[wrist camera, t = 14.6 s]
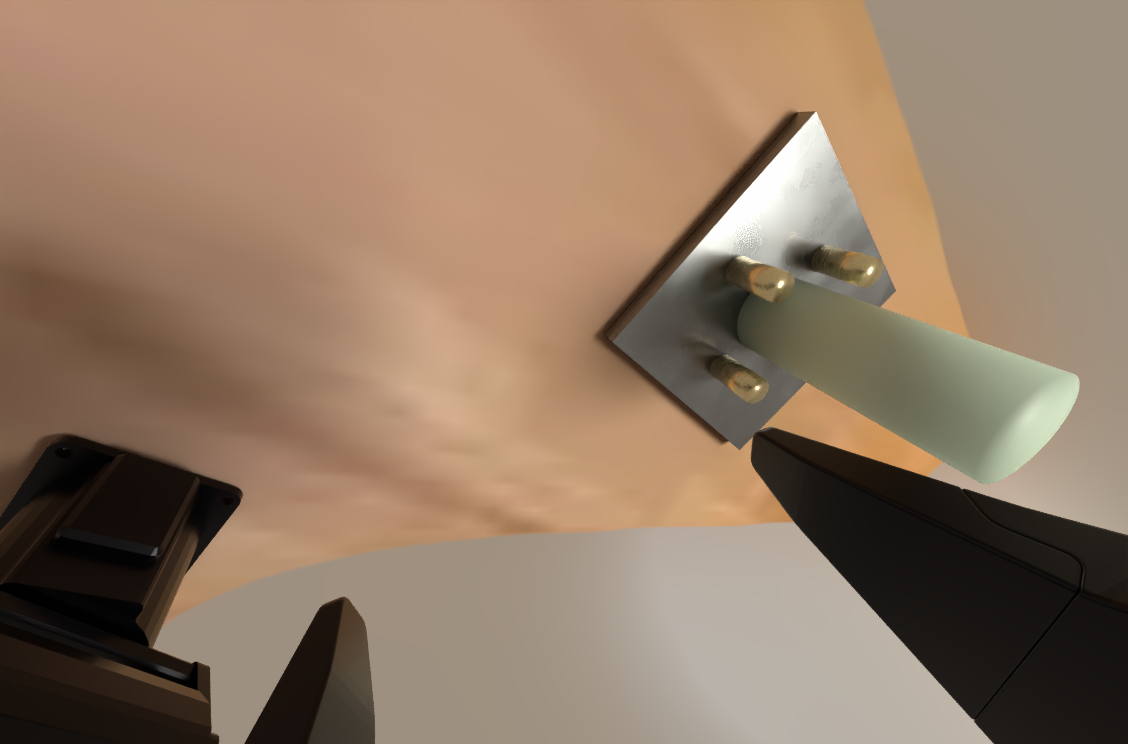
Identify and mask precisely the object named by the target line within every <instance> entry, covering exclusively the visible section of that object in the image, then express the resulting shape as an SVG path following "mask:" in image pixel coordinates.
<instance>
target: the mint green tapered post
mask: <svg viewBox="0 0 1128 744" xmlns="http://www.w3.org/2000/svg"><path fill="white" fill-rule="evenodd" d="M794 279H795V283H794V288H793V290H792V292H791V294H790V295H789V296H788V297H787V298H786V299H785V300H784V301H782V302H780V303H772V302H770V301H768V300H766V299H763V298H761V297H759V296H757V295H754V294H752V293H750V295H749V296H748V297H747V299H746V300H745V302H744V304H743V306H742V308H741V310H740V313H739V316H738V321H737V333H738V337H739V340H740V341H741V343H742V344H743V345H744V346H745V347H746V348H748V349H750V350H752V351H753V352H755V353H757V354H758V355H760V356H762V357H764V358H765V359H767V360H769V361H771V362H772V363H774V364H776V365H777V366H779V367H781V368H783V369H784V370H786V371H788V372H790V373H791V374H793V375H795V376H796V377H798V378H800V379H802V380H803V381H805V382H807V383H809V384H810V385H812V386H814V387H815V388H817V389H819V390H821V391H822V392H824V393H826V394H828V395H829V396H831V397H833V398H834V399H836V400H838V401H840V402H841V403H843V404H845V405H846V406H848V407H850V408H852V409H853V410H855V411H857V412H859V413H860V414H862V415H864V416H865V417H867V418H869V419H871V420H872V421H874V422H876V423H878V424H879V425H881V426H883V427H884V428H886V429H888V430H890V431H891V432H893V433H895V434H897V435H898V436H900V437H902V438H903V439H905V440H907V441H909V442H910V443H912V444H914V445H916V446H917V447H919V448H921V449H922V450H924V451H926V452H928V453H929V454H931V455H933V456H935V457H936V458H938V459H940V460H941V461H943V462H945V463H947V464H948V465H950V466H952V467H953V468H955V469H957V470H959V471H960V472H962V473H964V474H966V475H967V476H969V477H971V478H973V479H974V480H976V481H978V482H979V483H982V484H990V483H994V482H997V481H999V480H1001V479H1003V478H1005V477H1007V476H1009V475H1010V474H1012V473H1013V472H1015V471H1016V470H1018V469H1019V468H1020V467H1022V466H1023V465H1024V464H1025V463H1026V462H1028V461H1029V460H1030V459H1031V458H1032V457H1033V456H1034V455H1035V454H1036V453H1037V452H1038V451H1039V450H1040V449H1041V448H1042V447H1043V446H1044V445H1045V444H1046V443H1047V442H1048V441H1049V440H1050V439H1051V437H1052V436H1053V435H1054V434H1055V432H1056V431H1057V430H1058V429H1059V427H1060V426H1061V424H1062V423H1063V422H1064V420H1065V419H1066V417H1067V415H1068V414H1069V412H1070V410H1071V409H1072V407H1073V404H1074V402H1075V400H1076V397H1077V395H1078V391H1079V379H1078V377H1077V376H1076V375H1074V374H1072V373H1069V372H1066V371H1063V370H1060V369H1057V368H1054V367H1051V366H1048V365H1046V364H1043V363H1040V362H1037V361H1034V360H1031V359H1028V358H1025V357H1023V356H1020V355H1017V354H1014V353H1011V352H1008V351H1005V350H1002V349H999V348H996V347H994V346H990V345H988V344H985V343H982V342H979V341H976V340H973V339H970V338H968V337H965V336H962V335H959V334H956V333H953V332H950V331H947V330H944V329H941V328H939V327H936V326H933V325H930V324H927V323H924V322H921V321H918V320H915V319H913V318H910V317H907V316H904V315H901V314H898V313H895V312H892V311H889V310H886V309H884V308H881V307H878V306H875V305H872V304H869V303H866V302H863V301H860V300H858V299H855V298H852V297H849V296H846V295H843V294H840V293H837V292H834V291H831V290H829V289H826V288H823V287H820V286H817V285H814V284H811V283H808V282H805V281H803V280H800V279H797V278H794Z"/></svg>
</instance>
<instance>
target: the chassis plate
mask: <svg viewBox="0 0 1128 744" xmlns="http://www.w3.org/2000/svg"><path fill="white" fill-rule="evenodd" d="M794 278H797V279H800V280H803V281H805V282H808V283H811V284H814V285H817V286H820V287H823V288H826V289H829V290H831V291H834V292H837V293H840V294H843V295H846V296H849V297H852V298H855V299H858V300H860V301H863V302H866V303H869V304H872V305H875V306H878V307H881V306H882V305H883V304H884V303H885V302H886V300H887V299H888V298H889V297H890V296H891V295H892V294H893V293H894V292H895V291H896V290H895V288H894V285H893V283H892V281H891V279H890V276H889V274H888V272H887V270H886V267H885V265H884V263H883V261H882V258H881V256H880V254H879V252H878V249H877V247H876V245H875V243H874V240H873V238H872V236H871V234H870V231H869V229H868V227H867V225H866V223H865V220H864V218H863V216H862V214H861V211H860V209H859V207H858V205H857V202H856V200H855V198H854V196H853V193H852V191H851V189H850V187H849V184H848V182H847V180H846V178H845V175H844V173H843V171H842V169H841V166H840V164H839V162H838V160H837V157H836V155H835V153H834V151H833V148H832V146H831V144H830V142H829V139H828V137H827V135H826V133H825V130H824V128H823V126H822V124H821V121H820V119H819V117H818V115H817V113H816V111H814V112H799V113H798V114H797V115H796V116H795V117H794V118H793V119H792V121H791V122H790V123H789V124H788V125H787V126H786V127H785V129H784V130H783V131H782V132H781V133H780V134H779V135H778V137H777V138H776V139H775V140H774V141H773V142H772V143H771V145H770V146H769V147H768V148H767V149H766V150H765V151H764V153H763V154H762V155H761V156H760V157H759V158H758V159H757V161H756V162H755V163H754V164H753V165H752V166H751V167H750V169H749V170H748V171H747V172H746V173H745V174H744V175H743V177H742V178H741V179H740V180H739V181H738V182H737V183H736V185H735V186H734V187H733V188H732V189H731V190H730V191H729V193H728V194H727V195H726V196H725V197H724V198H723V199H722V201H721V202H720V203H719V204H718V205H717V206H716V207H715V209H714V210H713V211H712V212H711V213H710V214H709V215H708V216H707V218H706V219H705V220H704V221H703V222H702V223H701V224H700V226H699V227H698V228H697V229H696V230H695V231H694V232H693V234H692V235H691V236H690V237H689V238H688V239H687V240H686V242H685V243H684V244H683V245H682V246H681V247H680V248H679V250H678V251H677V252H676V253H675V254H674V255H673V256H672V258H671V259H670V260H669V261H668V262H667V263H666V264H665V266H664V267H663V268H662V269H661V270H660V271H659V272H658V274H657V275H656V276H655V277H654V278H653V279H652V280H651V282H650V283H649V284H648V285H647V286H646V287H645V288H644V290H643V291H642V292H641V293H640V294H639V295H638V296H637V298H636V299H635V300H634V301H633V302H632V303H631V304H630V306H629V307H628V308H627V309H626V310H625V311H624V312H623V314H622V315H621V316H620V317H619V318H618V319H617V320H616V322H615V323H614V324H613V325H612V326H611V327H610V328H609V330H608V331H607V332H606V333H605V334H604V335H605V336H606V337H607V338H608V339H609V340H611V341H612V342H613V343H614V344H615V345H616V346H617V347H619V348H620V349H621V350H622V351H623V352H624V353H626V354H627V355H628V356H629V357H630V358H632V359H633V360H634V361H635V362H636V363H637V364H639V365H640V366H641V367H642V368H643V369H645V370H646V371H647V372H648V373H649V374H650V375H652V376H653V377H654V378H655V379H656V380H658V381H659V382H660V383H661V384H662V385H663V386H665V387H666V388H667V389H668V390H669V391H671V392H672V393H673V394H674V395H675V396H676V397H678V398H679V399H680V400H681V401H682V402H683V403H685V404H686V405H687V406H688V407H689V408H691V409H692V410H693V411H694V412H695V413H696V414H698V415H699V416H700V417H701V418H702V419H704V420H705V421H706V422H707V423H708V424H709V425H711V426H712V427H713V428H714V429H715V430H717V431H718V432H719V433H720V434H721V435H722V436H724V437H725V438H726V439H727V440H728V441H730V442H731V443H732V444H733V445H734V446H735V447H737V448H738V449H739V450H740V449H741V448H742V447H743V446H744V445H745V444H746V443H747V442H748V441H749V440H750V439H751V438H752V437H753V435H754V434H755V433H756V432H757V431H759V430H760V429H761V428H762V427H763V426H764V425H765V424H766V423H767V422H768V421H769V420H770V419H771V418H772V417H773V416H774V414H775V413H776V412H777V411H778V410H779V409H780V408H781V407H782V406H783V405H784V404H785V403H786V402H787V401H788V400H789V399H790V398H791V397H792V396H793V395H794V394H795V393H796V392H797V391H798V390H799V389H800V388H801V387H802V386H803V385H804V384H805V383H806V382H805V381H803V380H802V379H800V378H798V377H796V376H795V375H793V374H791V373H790V372H788V371H786V370H784V369H783V368H781V367H779V366H777V365H776V364H774V363H772V362H771V361H769V360H767V359H765V358H764V357H762V356H760V355H758V354H757V353H755V352H753V351H752V350H750V349H748V348H746V347H745V346H744V345H743V344H742V343H741V341H740V340H739V337H738V333H737V321H738V316H739V313H740V310H741V308H742V306H743V304H744V302H745V300H746V299H747V297H748V296H749V295H750V293H752V294H754V295H757V296H759V297H761V298H763V299H766V300H768V301H770V302H772V303H780V302H782V301H784V300H785V299H786V298H787V297H788V296H789V295H790V294H791V292H792V290H793V288H794V283H795V279H794Z"/></svg>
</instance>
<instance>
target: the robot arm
mask: <svg viewBox="0 0 1128 744" xmlns="http://www.w3.org/2000/svg"><path fill="white" fill-rule="evenodd" d="M62 448H68V449H70V450H72V451H73V452H67V451H65V450H63V449H62ZM751 463H752V465H753V467H754V469H755V470H756V472H757V473H758V474H759V476H760V477H761V478H762V480H763V481H764V483H765V484H766V485H767V487H768V488H769V489H770V491H771V492H772V493H773V495H774V496H775V497H776V499H777V500H778V501H779V503H780V504H781V505H782V507H783V508H784V509H785V511H786V512H787V513H788V515H789V516H790V517H791V519H792V520H793V521H794V522H795V524H796V525H797V526H798V527H799V528H800V529H801V531H802V532H803V533H804V534H805V535H806V536H807V537H808V538H809V539H810V541H811V542H812V543H813V544H814V545H815V546H816V547H817V548H818V549H819V551H820V552H821V553H822V554H823V555H824V556H825V557H826V558H827V559H828V560H829V562H830V563H831V564H832V565H833V566H834V567H835V568H836V569H837V570H838V572H839V573H840V574H841V575H842V576H843V577H844V578H845V579H846V580H847V581H848V582H849V584H850V585H851V586H852V587H853V588H854V589H855V590H856V591H857V592H858V594H859V595H860V596H861V597H862V598H863V599H864V600H865V601H866V602H867V604H868V605H869V606H870V607H871V608H872V609H873V610H874V611H875V612H876V613H877V614H878V616H879V617H880V618H881V619H882V620H883V621H884V622H885V623H886V625H887V626H888V627H889V628H890V629H891V630H892V631H893V632H894V633H895V634H896V636H898V638H899V639H900V640H901V641H902V642H903V643H904V644H905V646H906V647H907V648H908V649H909V650H910V651H911V652H912V653H913V654H914V656H916V658H917V659H918V660H919V661H920V662H921V663H922V664H923V666H924V667H925V668H926V669H927V670H928V671H929V672H930V673H931V674H932V675H933V676H934V678H935V679H936V680H937V681H938V682H939V683H940V684H941V685H942V686H943V688H945V690H946V691H947V692H948V693H949V694H950V695H951V696H952V698H953V699H954V700H955V701H956V702H957V703H958V704H959V705H960V706H961V707H962V709H963V710H964V711H965V712H966V713H967V714H968V715H969V716H970V717H971V718H972V719H974V722H975V723H976V724H977V726H978V727H979V728H980V729H981V730H982V731H983V732H984V733H985V734H986V736H987V737H988V738H989V739H990V740H991V741H992V742H993V743H994V744H1128V535H1125V534H1122V533H1118V532H1114V531H1110V530H1107V529H1103V528H1099V527H1095V526H1091V525H1088V524H1084V523H1080V522H1076V521H1073V520H1069V519H1065V518H1061V517H1058V516H1054V515H1050V514H1047V513H1043V512H1040V511H1036V510H1032V509H1029V508H1025V507H1022V506H1019V505H1015V504H1012V503H1009V502H1006V501H1002V500H999V499H996V498H992V497H989V496H986V495H983V494H980V493H977V492H974V491H971V490H967V489H961V488H960V487H958V486H954V485H951V484H948V483H945V482H942V481H939V480H936V479H932V478H930V477H927V476H923V475H920V474H917V473H914V472H911V471H908V470H905V469H902V468H898V467H895V466H892V465H889V464H886V463H883V462H880V461H877V460H874V459H870V458H867V457H864V456H861V455H858V454H855V453H852V452H849V451H846V450H842V449H839V448H836V447H833V446H830V445H827V444H824V443H821V442H817V441H814V440H811V439H808V438H805V437H802V436H799V435H796V434H793V433H789V432H786V431H783V430H780V429H777V428H773V427H768V428H765V429H763V430H760V431H757V432H756V433H755V434H754V435H753V440H752V450H751ZM224 497H231V498H233V499H226V498H224ZM242 497H243V493H242V491H241V490H240V489H239V488H237V487H234V486H231V485H228V484H224V483H221V482H218V481H215V480H212V479H208V478H205V477H202V476H199V475H196V474H193V473H189V472H186V471H183V470H180V469H177V468H173V467H170V466H167V465H164V464H161V463H157V462H154V461H151V460H148V459H145V458H141V457H138V456H135V455H132V454H129V453H126V452H122V451H119V450H116V449H113V448H110V447H106V446H103V445H100V444H97V443H94V442H90V441H87V440H84V439H81V438H78V437H73V436H63V437H60V438H57V439H56V440H55V441H54V442H53V443H52V444H51V445H50V446H48V447H47V449H46V450H45V452H44V453H43V455H42V456H41V458H40V459H39V461H38V462H37V463H36V465H35V466H34V468H33V469H32V471H31V472H30V474H29V475H28V477H27V478H26V480H25V481H24V483H23V484H22V486H21V487H20V489H19V490H18V492H17V493H16V495H15V496H14V498H13V499H12V501H11V502H10V504H9V505H8V507H7V508H6V510H5V511H4V513H3V514H2V516H1V517H0V744H219V736H218V735H217V734H214V733H211V728H212V727H211V701H210V667H209V666H206V665H204V664H201V663H199V662H194V663H189V662H187V661H184V660H181V659H179V658H176V657H173V656H171V655H168V654H166V653H163V652H161V651H158V650H156V649H153V646H154V644H155V641H156V639H157V637H158V634H159V632H160V630H161V628H162V625H163V623H164V621H165V618H166V616H167V614H168V612H169V609H170V607H171V605H172V602H173V600H174V598H175V596H176V593H177V591H178V589H179V586H180V584H181V582H182V580H183V577H184V575H185V574H186V573H187V571H188V570H189V569H190V568H191V566H192V565H193V564H194V562H195V561H196V560H197V558H198V557H199V556H200V555H201V553H202V552H203V551H204V549H205V548H206V547H207V546H208V544H209V543H210V542H211V540H212V539H213V538H214V537H215V535H216V534H217V533H218V531H219V530H220V529H221V528H222V526H223V525H224V524H225V522H226V521H227V520H228V519H229V517H230V516H231V515H232V513H233V512H234V511H235V510H236V508H237V507H238V506H239V504H240V502H241V499H242ZM245 744H375V715H374V702H373V692H372V681H371V671H370V661H369V652H368V641H367V631H366V626H365V623H364V620H363V619H362V617H361V616H360V614H359V613H358V611H357V610H356V609H355V607H354V606H353V605H352V603H351V602H350V600H349V599H348V598H346V597H340V598H338V599H335V600H333V601H330V602H328V603H325V604H324V605H322V606H321V607H320V608H319V610H318V612H317V613H316V615H315V617H314V619H313V621H312V622H311V624H310V626H309V628H308V630H307V631H306V633H305V635H304V637H303V639H302V641H301V642H300V644H299V646H298V648H297V649H296V651H295V653H294V655H293V657H292V659H291V660H290V662H289V664H288V666H287V668H286V670H285V671H284V673H283V675H282V677H281V679H280V680H279V682H278V684H277V686H276V687H275V689H274V691H273V693H272V695H271V696H270V698H269V700H268V702H267V704H266V706H265V708H264V709H263V711H262V713H261V715H260V716H259V718H258V720H257V722H256V724H255V725H254V727H253V729H252V731H251V733H250V735H249V736H248V738H247V740H246V742H245Z"/></svg>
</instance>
